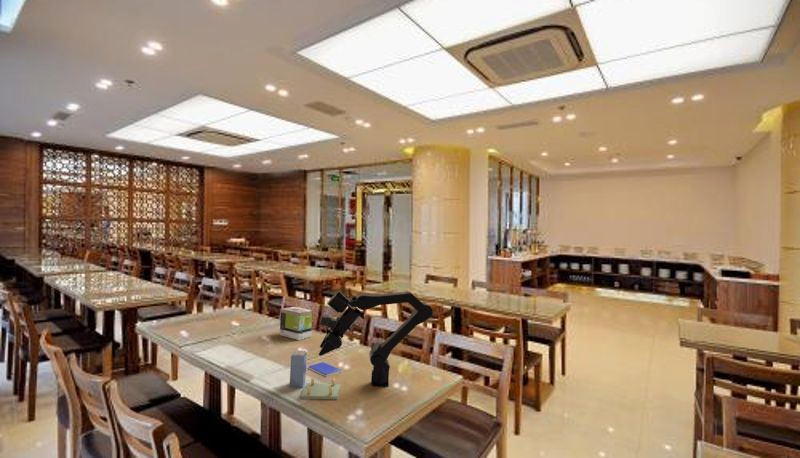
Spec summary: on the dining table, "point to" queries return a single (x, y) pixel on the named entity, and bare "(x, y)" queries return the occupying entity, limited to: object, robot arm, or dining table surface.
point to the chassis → (320, 390)
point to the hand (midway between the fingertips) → (320, 351)
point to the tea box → (296, 323)
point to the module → (298, 369)
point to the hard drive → (324, 369)
